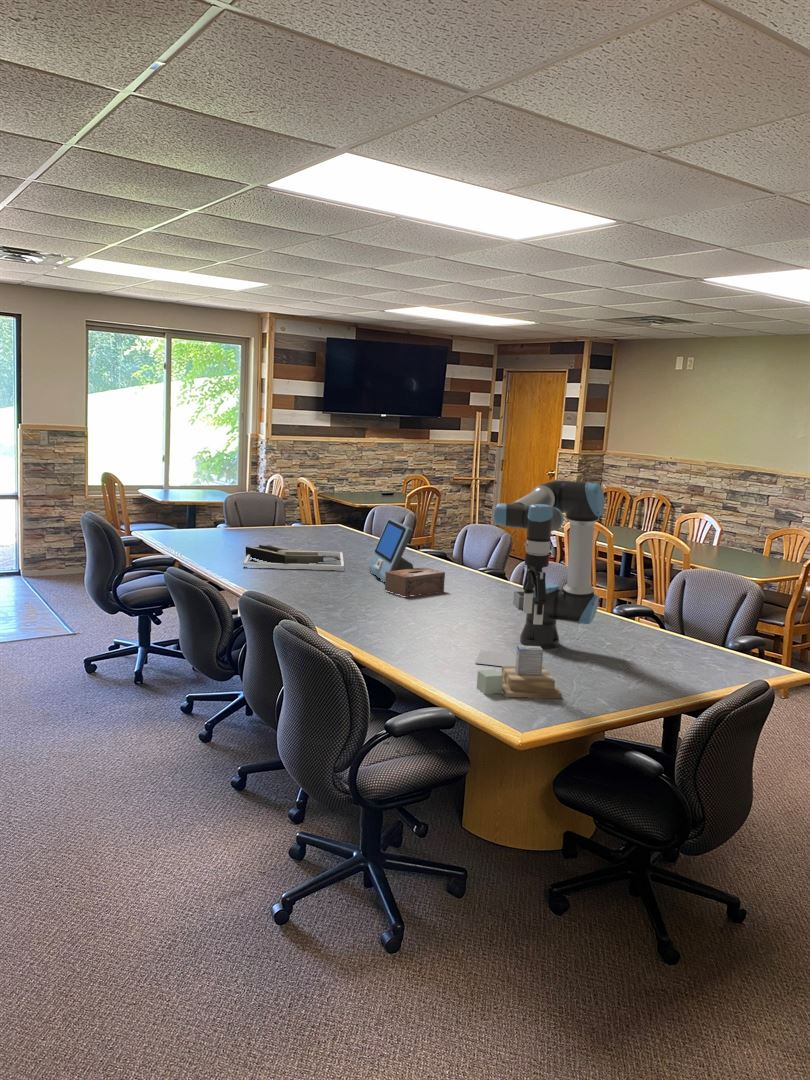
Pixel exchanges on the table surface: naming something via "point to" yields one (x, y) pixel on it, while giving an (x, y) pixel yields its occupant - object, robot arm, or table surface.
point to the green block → (489, 681)
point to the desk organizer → (519, 599)
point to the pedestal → (528, 684)
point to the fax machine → (284, 555)
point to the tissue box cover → (415, 581)
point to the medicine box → (529, 660)
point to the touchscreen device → (391, 550)
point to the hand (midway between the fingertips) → (532, 618)
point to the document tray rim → (300, 564)
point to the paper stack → (496, 658)
